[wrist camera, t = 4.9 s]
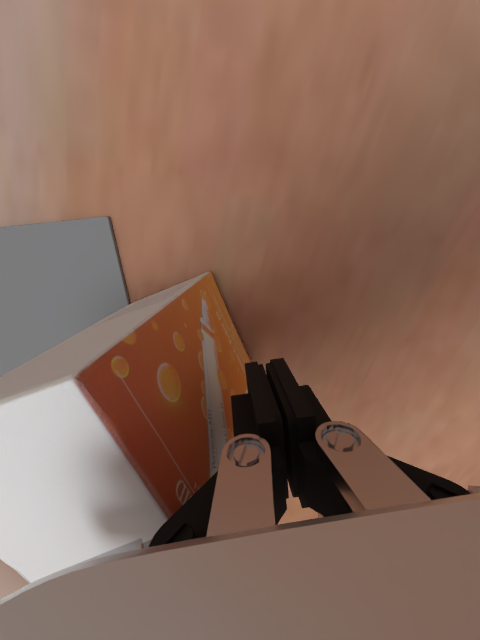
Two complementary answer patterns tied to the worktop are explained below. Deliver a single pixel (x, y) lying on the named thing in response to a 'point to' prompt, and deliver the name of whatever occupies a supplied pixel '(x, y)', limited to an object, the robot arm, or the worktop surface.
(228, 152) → the worktop surface
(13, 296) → the mat
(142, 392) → the small box
